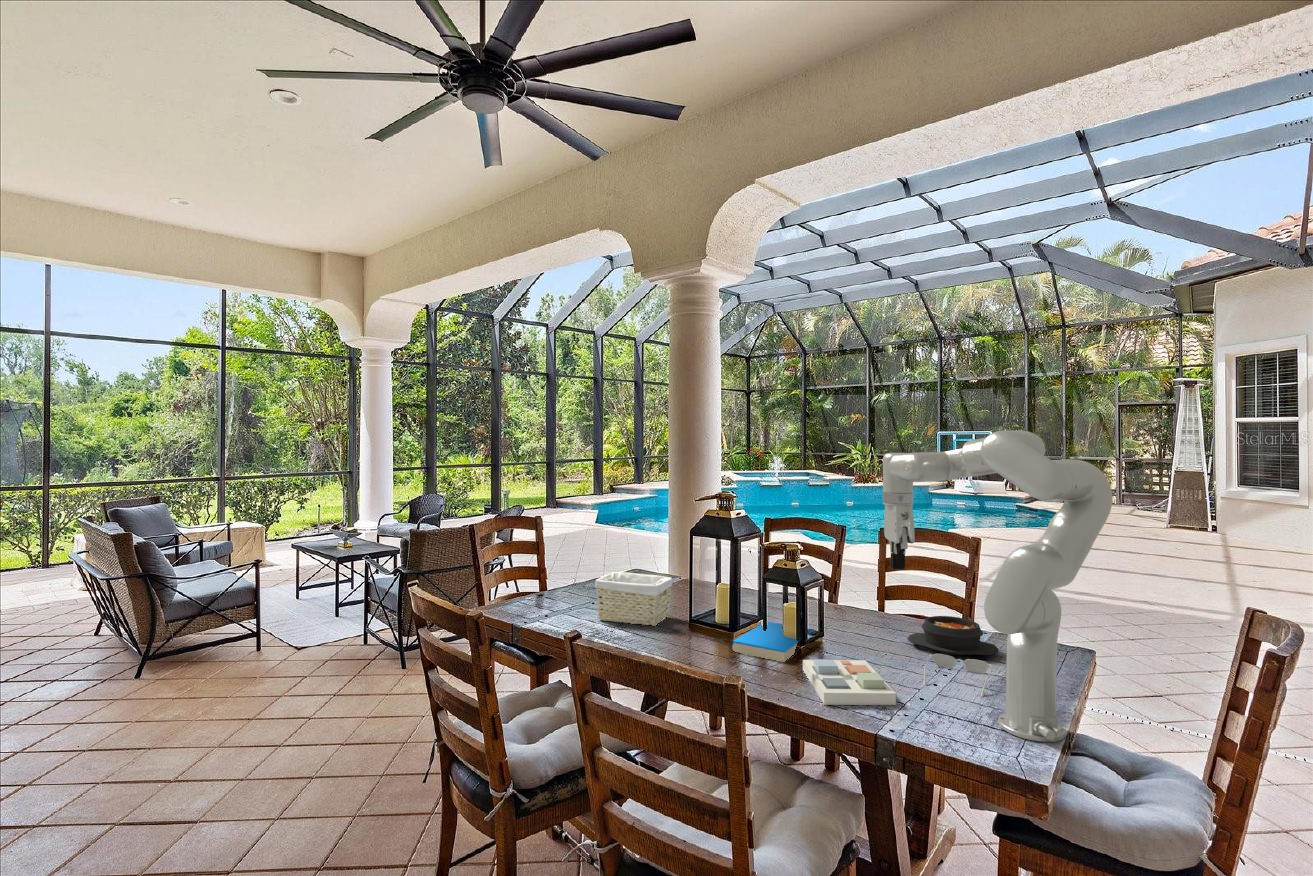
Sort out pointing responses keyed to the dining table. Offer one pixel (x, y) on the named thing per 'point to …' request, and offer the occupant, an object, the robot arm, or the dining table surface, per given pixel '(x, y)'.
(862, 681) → the key sage
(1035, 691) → the robot arm
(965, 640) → the casserole
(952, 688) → the dining table surface
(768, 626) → the book
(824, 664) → the key blue
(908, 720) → the dining table surface
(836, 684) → the key slate
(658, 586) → the storage basket
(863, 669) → the key terracotta
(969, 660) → the eyeglasses
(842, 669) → the keypad
